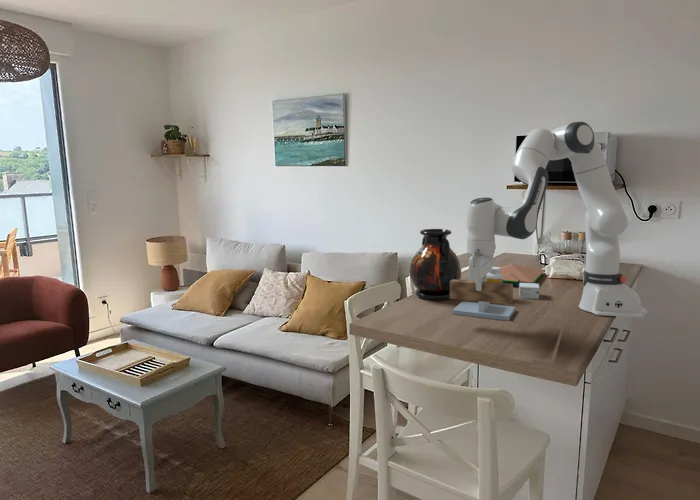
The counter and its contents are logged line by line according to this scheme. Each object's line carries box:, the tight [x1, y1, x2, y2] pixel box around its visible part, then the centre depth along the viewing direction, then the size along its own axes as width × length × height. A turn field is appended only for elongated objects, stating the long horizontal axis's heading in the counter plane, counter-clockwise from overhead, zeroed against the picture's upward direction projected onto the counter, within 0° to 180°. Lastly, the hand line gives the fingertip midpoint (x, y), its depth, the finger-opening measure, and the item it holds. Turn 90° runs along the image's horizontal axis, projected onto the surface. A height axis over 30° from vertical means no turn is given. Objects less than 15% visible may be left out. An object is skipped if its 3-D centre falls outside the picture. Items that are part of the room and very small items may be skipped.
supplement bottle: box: [486, 266, 502, 283], centre depth 201 cm, size 7×7×13 cm
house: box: [487, 263, 546, 288], centre depth 233 cm, size 23×33×8 cm
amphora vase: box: [409, 228, 462, 301], centre depth 205 cm, size 22×22×28 cm
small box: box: [518, 282, 540, 300], centre depth 203 cm, size 8×8×5 cm
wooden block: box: [450, 279, 514, 305], centre depth 163 cm, size 20×4×6 cm, turn 63°
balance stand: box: [452, 300, 516, 321], centre depth 181 cm, size 20×14×8 cm
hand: (480, 288), depth 163 cm, fingers closed on wooden block, 3 cm apart
